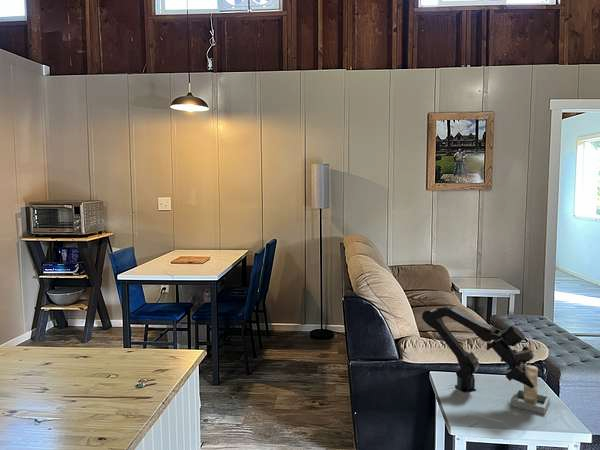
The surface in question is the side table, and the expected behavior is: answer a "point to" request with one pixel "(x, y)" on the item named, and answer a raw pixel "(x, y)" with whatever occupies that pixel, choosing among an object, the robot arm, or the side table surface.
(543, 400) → the tray
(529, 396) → the tan wooden tall block
